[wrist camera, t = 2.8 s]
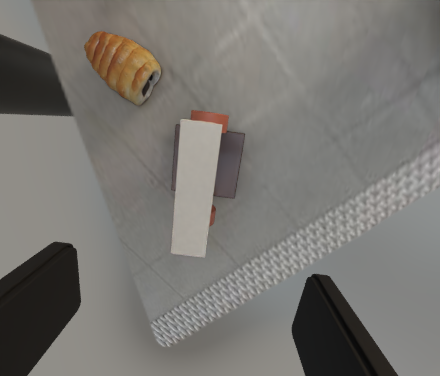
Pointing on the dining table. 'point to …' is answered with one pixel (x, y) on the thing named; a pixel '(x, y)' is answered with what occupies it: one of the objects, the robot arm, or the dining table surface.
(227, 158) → the headphone stand
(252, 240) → the dining table surface
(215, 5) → the dining table surface
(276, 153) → the dining table surface
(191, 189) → the over-ear headset
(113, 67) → the pastry
